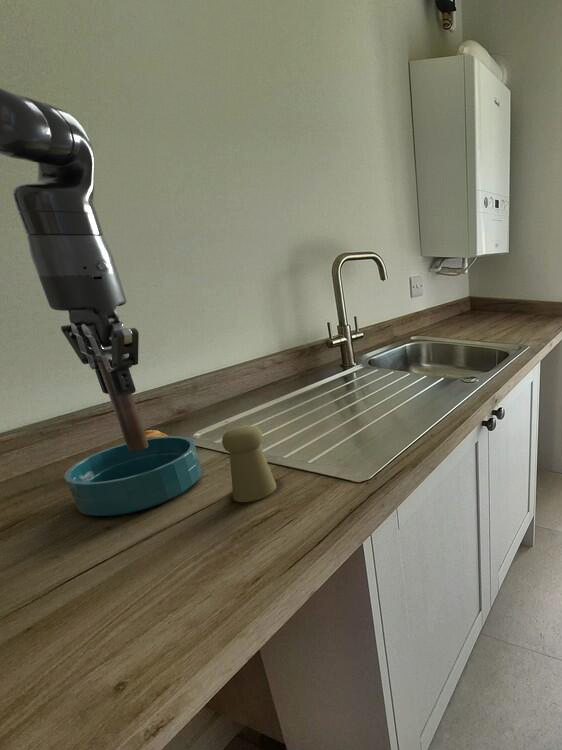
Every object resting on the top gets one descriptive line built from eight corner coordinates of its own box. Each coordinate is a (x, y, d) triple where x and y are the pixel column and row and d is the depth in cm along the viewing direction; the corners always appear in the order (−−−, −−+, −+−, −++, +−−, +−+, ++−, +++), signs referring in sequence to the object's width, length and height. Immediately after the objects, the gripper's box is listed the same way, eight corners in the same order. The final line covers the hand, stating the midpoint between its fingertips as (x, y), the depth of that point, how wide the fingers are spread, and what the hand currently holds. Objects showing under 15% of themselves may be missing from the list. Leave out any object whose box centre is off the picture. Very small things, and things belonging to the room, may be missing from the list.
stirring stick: (124, 450, 62) (93, 361, 58) (142, 443, 64) (114, 357, 60) (134, 452, 61) (103, 363, 57) (152, 445, 64) (124, 359, 59)
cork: (270, 476, 70) (257, 417, 66) (281, 491, 66) (268, 428, 62) (228, 491, 66) (212, 428, 62) (238, 507, 62) (221, 441, 58)
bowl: (55, 507, 62) (41, 472, 60) (166, 460, 75) (157, 431, 73) (117, 530, 57) (103, 493, 55) (224, 475, 70) (215, 444, 68)
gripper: (11, 272, 53) (59, 396, 59) (72, 274, 49) (118, 408, 54) (84, 269, 60) (121, 381, 66) (144, 270, 55) (179, 390, 61)
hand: (120, 392), depth 60 cm, fingers closed on stirring stick, 2 cm apart
